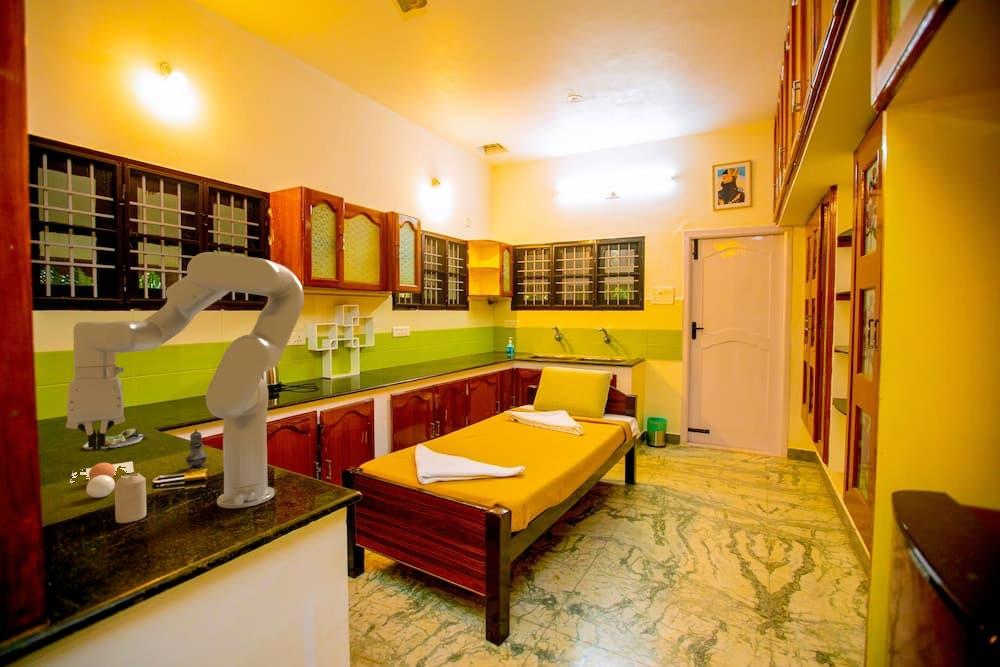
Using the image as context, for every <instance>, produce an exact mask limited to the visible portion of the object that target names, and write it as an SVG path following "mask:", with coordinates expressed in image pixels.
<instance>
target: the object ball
mask: <svg viewBox="0 0 1000 667" xmlns="http://www.w3.org/2000/svg"><path fill="white" fill-rule="evenodd" d="M90 468H91V470H90V472H89V478H90V479H93V478H94V477H97V476H100V475H107V476H110V477H111V478H113V477H115V476H114V474H115V469H114V467H113V464H111V463H109V462H99V463H97V464H95V465H94V466H92V467H90Z"/></svg>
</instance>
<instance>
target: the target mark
mask: <svg viewBox="0 0 1000 667" xmlns="http://www.w3.org/2000/svg"><path fill="white" fill-rule="evenodd" d="M112 465H113V467H114V469H115V471H117V468H118V467H119V466H121V467H126V468H120V469H122V470H124V471H125V472H126V471H127V472H126V473H130V474H133V473H132V472H134V473H135V470H134V462H133V461H132V460H131V461H125V462H121V463H119V462H118V463H113V464H112ZM91 468H92V467H88V468H85V469H86V472H80V475H87V476H86V477H89V472H90V470H91ZM83 469H84V468H82V471H83ZM115 473H116V472H115ZM76 474H77V472H75V473H73V472H72V473H71V476H73V477H72V478H76V477H77V476H78V475H77V476H74V475H76ZM114 475H116V474H114ZM86 479H89V480H88V481H90V478H86ZM71 480H72V479H71V478H70V480H69V484H74V483H73V482H75V481H71Z"/></svg>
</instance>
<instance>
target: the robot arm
mask: <svg viewBox="0 0 1000 667" xmlns="http://www.w3.org/2000/svg"><path fill="white" fill-rule="evenodd" d="M303 289H304V288H303V286H302V283H301V282H300V280H299V279H298V277H297V275H295V274H294V273H293V272H292V271H291V270H290V269H288V267H286V266H284V265H282V264H279V263H278V262H277V263H276V262H275V261H271V260H269V259H265V258H260V257H251V256H244V255H234V254H227V253H220V252H219V253H218V252H212V251H205V252H202V253H201V252H200V253H197V254H196V255H195V256H194V257H192V258H191V259H190V260H189V262H188V263H187V268H186V275H185V276H184V277H182V278H181V279H179V280H177V281H176V282H174V283H173V284H172V285H170V286H168V287H167V289H166V290H165V295H166V298H167V300H166V303H165V304H164V305H163V306H162V307H161V308H160V309H159V310H157V311H156V312H154V313H153V314H151V315H150V316H147V318H145V319H143V320H119V321H109V322H108V321H81V322H80V321H79V322H77V323H75V324H74V326H73V330H72V331H73V375H74V376H73V377H74V379H70V381H69V385H68V390H67V400H66V401H67V402H66V403H67V404H66V417H67V419H66V420H67V421H66V424H65V428H66V429H71V430H72V429H74V430H79V431H81V432H83V433H85V434H86V435H87V436H88V438H87V439H88V440H87V441H88V442H87V443H88V448H91V447H92V450H91V452H96V451H100V452H101V451H102V450H101V447H105V437H106V432H107V431H108V430H110V429H111V428H112V427H113V426H116V425H119V424H123V423H125V421H126V417H125V414H124V411H125V410H124V409H125V405H124V402H125V400H124V390H123V385H122V380H121V377H119V376H117V375H118V374H121V373H124V372H125V371H124V367H121V366H117V353H121V354H122V353H123V354H124V353H125V354H126V353H135V352H143V351H151V350H155V349H156V348H158V347H160V346H162V345H163V344H165V343H167V342H168V341H170V340H171V339H172V338H175V337H176V336H177V335H179V334H180V333H181V332H182V331H183V330H184V329H186V328H187V326H188V325H189V324H190V323H191V322H192V321H193V319H194V317H195V316H197V315H198V314H199V313H201V312H202V311H203V310H205V309H207V308H208V307H210V306H211V305H213V304H214V303H215V302H217V301H218V300H220V299H221V298H223V297H225V296H226V295H228V294H229V293H230V292H233V293H243V294H250V295H258V296H263V297H264V296H265V297H267V302H266V304H265V306H264V307H263V308H262V310H261V312H260V313H259V315H258V318H257V320H256V322H255V324H254V326H253V329H252V330H251V332H250V333H249V334H245V335H242V336H239V337H237V338H236V339H234V340H233V341H232V342H231V343H230V344H229V346H227V348H226V350H225V352H224V354H223V355H222V357H221V359H220V362H219V363H218V366H217V368H216V370H215V372H214V374H213V376H212V379H211V381H210V383H209V385H208V388H207V389H206V390H207V391H206V393H205V404H206V407H207V409H208V411H209V412H210V413H211V414H212V415H213V416H215V417H217V418H219V419H223V424H222V426H223V427H222V428H223V429H222V437H223V438H222V450H223V451H222V452H223V456H222V457H223V485H224V486H223V489H224V490H223V492H224V493H222V494H221V495H219V496H218V497H217V499H216V503H217V506H218V507H220V508H223V509H243V508H248V507H252V506H257V505H259V504H263V503H265V502H268V501H269V500H271V499H272V498H273V497H275V488H273V487H271V486H269V484H268V448H267V447H268V445H267V420H268V419H267V417H268V406H269V388H268V385H267V383H266V381H265V380H264V379H263V375H264V374H265V372H268V371H271V370H273V369H275V368H276V367H277V365H278V364H279V363H280V361H281V360H282V357H283V355H284V353H285V349H286V347H287V346H288V344H289V341H290V339H291V336H292V334H293V332H294V329H295V327H296V325H297V323H298V320H299V318H300V316H301V314H302V310H303V308H304V302H305V295H304V294H305V293H304V290H303ZM93 422H100V427H99V429H98V431H97V432H96V430H95V429H94V427H93V426H94V425H93ZM96 438H97V439H96ZM96 449H97V450H96Z"/></svg>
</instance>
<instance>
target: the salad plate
mask: <svg viewBox="0 0 1000 667" xmlns="http://www.w3.org/2000/svg"><path fill="white" fill-rule="evenodd" d="M149 435H150V434H149V433H146V434H141V433H140V434H139V430H138V429H137V428H136V427H135V428H134V427H132V428H128V429H124V430H123V431H120V432H119V434H117V435H109V436H107V435H105V446H107V447H105V446H101V449H104V450H108V449H107V448H115V449H118V448H117V447H120V448H124V447H123V446H125V447H129V446H128V445H130V446H133V445H132V444H134V445H137V444H138V443H140V442H141V441H143V440H144V438H146V437H148V436H149ZM96 439H97V437H96ZM136 443H137V444H136ZM82 449H84V450H87V451H92V447H91V448H88V442H86V443H85V444H83V446H82ZM96 451H98V450H97V449H96Z"/></svg>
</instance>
